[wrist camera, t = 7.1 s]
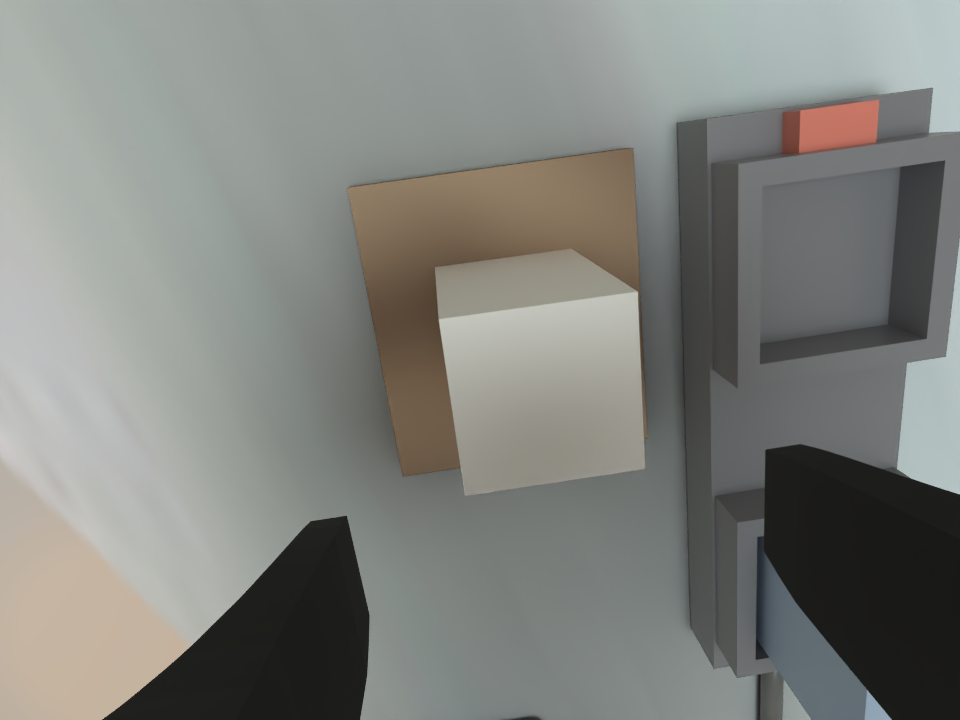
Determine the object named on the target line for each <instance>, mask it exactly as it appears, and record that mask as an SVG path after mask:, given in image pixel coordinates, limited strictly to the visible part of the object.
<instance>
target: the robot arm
mask: <svg viewBox="0 0 960 720" xmlns="http://www.w3.org/2000/svg"><path fill="white" fill-rule="evenodd" d="M764 552H765V554H766V556H767V557H768V559H769V561H770V562H771V564H772V566H773V567H774V569H775V571H776V572H777V574H778V576H779V577H780V579H781V581H782V582H783V584H784V585H785V587H786V588H787V590H788V591H789V593H790V595H791V596H792V598H793V599H794V601H795V602H796V603H797V605H798V606H799V607H800V609H801V610H802V611H803V612H804V614H805V615H806V616H807V617H808V619H809V620H810V621H811V622H812V624H813V625H814V626H815V627H816V628H817V630H818V631H819V632H820V633H821V635H822V636H823V637H824V638H825V640H826V641H827V642H828V643H829V644H830V646H831V647H832V648H833V649H834V650H835V652H836V653H837V654H838V655H839V657H840V658H841V659H842V660H843V661H844V663H845V664H846V665H847V666H848V667H849V669H850V670H851V671H852V672H853V673H854V675H855V676H856V677H857V678H858V679H859V681H860V682H861V683H862V684H863V686H864V687H865V688H866V689H867V690H868V692H869V693H870V694H871V695H872V696H873V698H874V699H875V700H876V701H877V702H878V704H879V705H880V706H881V707H882V709H883V710H884V711H885V712H886V713H887V715H888V716H889V717H890V718H891V719H892V720H960V495H959V494H956V493H953V492H950V491H946V490H943V489H940V488H937V487H934V486H931V485H928V484H925V483H922V482H919V481H916V480H913V479H910V478H907V477H904V476H901V475H898V474H895V473H892V472H889V471H886V470H884V469H881V468H878V467H875V466H872V465H869V464H866V463H863V462H860V461H857V460H854V459H851V458H848V457H845V456H842V455H839V454H835V453H832V452H829V451H826V450H822V449H819V448H815V447H811V446H807V445H802V444H797V445H791V446H785V447H778V448H772V449H766V450H765V502H764ZM368 647H369V611H368V607H367V603H366V598H365V594H364V589H363V585H362V581H361V576H360V572H359V567H358V563H357V559H356V554H355V550H354V546H353V541H352V537H351V532H350V528H349V524H348V519H347V516H342V517H336V518H330V519H323V520H317V521H311V522H310V523H309V524H308V525H307V526H306V527H305V528H304V529H303V530H302V531H301V532H300V533H299V534H298V535H297V536H296V537H295V538H294V539H293V541H292V542H291V543H290V544H289V545H288V546H287V547H286V548H285V550H284V551H283V552H282V553H281V554H280V555H279V556H278V557H277V559H276V560H275V561H274V562H273V563H272V564H271V565H270V566H269V567H268V568H267V570H266V571H265V572H264V573H263V574H262V575H261V576H260V577H259V578H258V579H257V580H256V581H255V583H254V584H253V585H252V586H251V587H250V588H249V589H248V590H247V591H246V592H245V593H244V594H243V595H242V597H241V598H240V599H239V600H238V601H237V602H236V603H235V604H234V605H233V606H232V607H231V608H230V609H228V610H227V611H226V612H225V613H224V614H223V615H222V616H221V617H220V618H219V619H218V620H217V621H216V622H215V623H214V624H213V625H212V626H211V627H210V628H209V629H208V630H207V631H206V632H205V633H204V634H203V635H202V636H201V637H200V638H199V639H198V640H197V641H196V642H195V643H194V644H193V645H192V646H191V647H190V648H189V649H187V650H186V651H185V652H184V653H183V654H182V655H181V656H180V657H179V658H178V659H177V660H175V661H174V662H173V663H172V664H171V665H170V666H169V667H167V668H166V669H165V670H164V671H163V672H162V673H160V674H159V675H158V676H157V677H155V678H154V679H153V680H152V681H151V682H149V683H148V684H147V685H146V686H145V687H143V688H142V689H141V690H140V691H139V692H137V693H136V694H135V695H134V696H133V697H131V698H130V699H129V700H128V701H127V702H125V703H124V704H123V705H121V706H120V707H119V708H117V709H116V710H115V711H114V712H112V713H111V714H109V715H108V716H107V717H105V718H104V719H103V720H360V716H361V710H362V704H363V697H364V691H365V685H366V678H367V667H368Z"/></svg>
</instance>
